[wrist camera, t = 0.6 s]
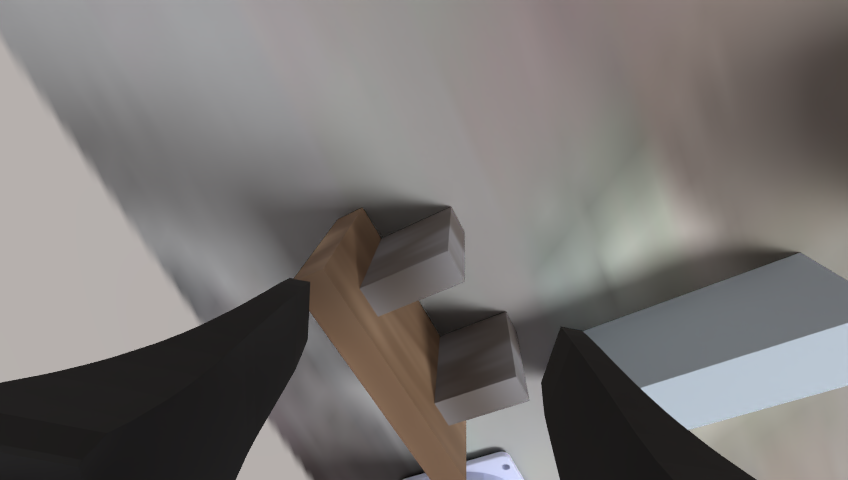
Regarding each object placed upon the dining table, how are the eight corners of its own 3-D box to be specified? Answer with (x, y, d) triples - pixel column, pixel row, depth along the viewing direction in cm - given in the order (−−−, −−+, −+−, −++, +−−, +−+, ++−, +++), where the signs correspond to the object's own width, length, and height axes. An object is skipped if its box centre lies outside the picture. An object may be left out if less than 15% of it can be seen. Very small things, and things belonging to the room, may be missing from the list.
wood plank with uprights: (433, 172, 20) (421, 223, 14) (529, 357, 24) (551, 457, 18) (337, 219, 22) (289, 283, 16) (443, 386, 25) (436, 488, 20)
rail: (810, 301, 21) (903, 369, 17) (580, 378, 25) (606, 452, 20) (798, 250, 20) (893, 308, 16) (559, 337, 24) (582, 406, 19)
